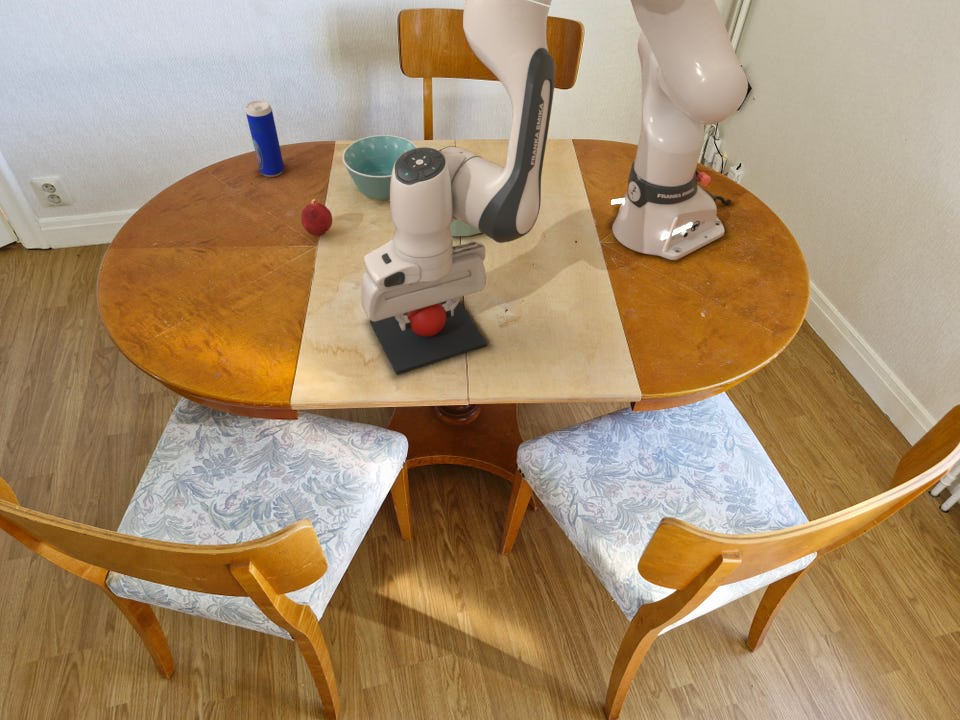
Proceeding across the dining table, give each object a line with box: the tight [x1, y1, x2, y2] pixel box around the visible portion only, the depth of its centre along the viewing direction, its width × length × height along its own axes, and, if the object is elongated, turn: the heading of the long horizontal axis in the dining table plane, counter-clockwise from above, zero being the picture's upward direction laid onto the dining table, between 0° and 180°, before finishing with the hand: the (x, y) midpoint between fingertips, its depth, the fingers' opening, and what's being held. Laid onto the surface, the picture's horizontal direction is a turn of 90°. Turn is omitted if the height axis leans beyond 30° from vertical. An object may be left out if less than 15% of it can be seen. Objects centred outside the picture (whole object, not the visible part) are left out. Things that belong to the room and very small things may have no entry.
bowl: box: [342, 134, 419, 202], centre depth 143 cm, size 16×16×8 cm
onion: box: [300, 198, 333, 237], centre depth 132 cm, size 6×6×8 cm
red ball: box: [407, 303, 446, 337], centre depth 114 cm, size 6×6×6 cm
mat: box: [369, 300, 488, 376], centre depth 116 cm, size 16×13×1 cm
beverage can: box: [245, 99, 285, 178], centre depth 144 cm, size 5×5×15 cm
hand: (426, 321), depth 114 cm, fingers closed on red ball, 6 cm apart
